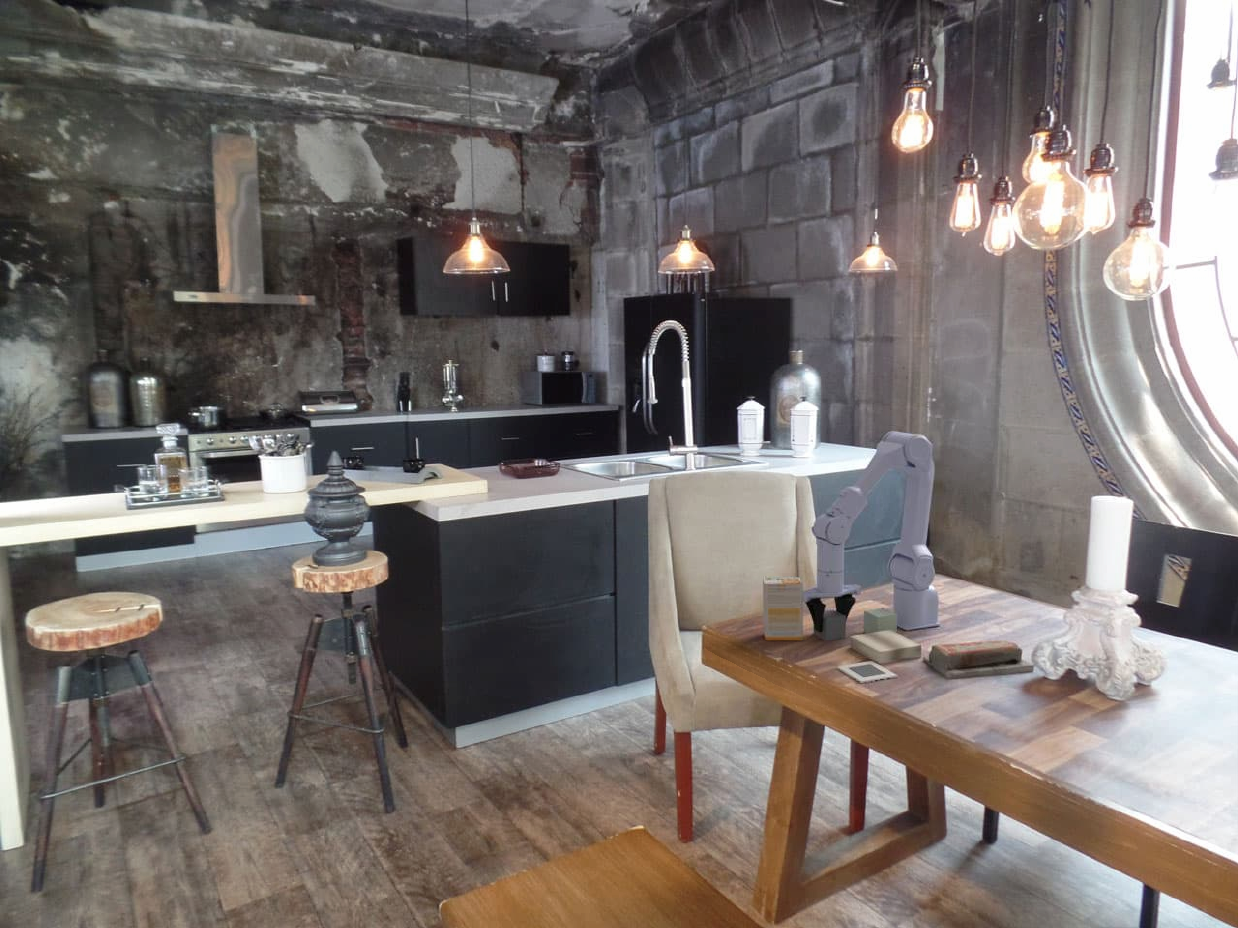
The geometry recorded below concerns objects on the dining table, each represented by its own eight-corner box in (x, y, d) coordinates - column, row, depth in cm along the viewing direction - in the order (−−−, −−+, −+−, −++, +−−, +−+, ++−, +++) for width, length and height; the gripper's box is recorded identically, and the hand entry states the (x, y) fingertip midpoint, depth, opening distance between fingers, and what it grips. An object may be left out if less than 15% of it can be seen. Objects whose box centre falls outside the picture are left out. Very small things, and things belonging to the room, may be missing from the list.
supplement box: (800, 633, 186) (800, 576, 184) (802, 641, 182) (803, 582, 180) (762, 633, 187) (762, 576, 185) (764, 640, 182) (764, 582, 181)
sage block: (882, 629, 188) (883, 607, 188) (896, 636, 184) (897, 614, 183) (863, 631, 187) (864, 610, 186) (877, 639, 182) (877, 616, 181)
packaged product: (950, 657, 159) (922, 639, 168) (949, 681, 159) (922, 662, 169) (1035, 649, 162) (1004, 632, 171) (1035, 673, 162) (1003, 655, 172)
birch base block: (890, 643, 180) (890, 629, 180) (920, 659, 171) (921, 645, 170) (850, 649, 177) (850, 636, 177) (879, 666, 168) (879, 651, 167)
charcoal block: (833, 630, 188) (833, 609, 187) (845, 637, 183) (846, 615, 182) (813, 633, 186) (813, 611, 185) (825, 640, 181) (826, 618, 181)
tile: (871, 662, 168) (872, 660, 168) (896, 677, 161) (897, 674, 161) (837, 668, 166) (837, 665, 166) (861, 683, 158) (861, 680, 158)
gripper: (848, 561, 189) (847, 619, 190) (791, 568, 184) (791, 627, 186) (866, 569, 182) (865, 629, 184) (808, 576, 177) (808, 638, 179)
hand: (829, 629), depth 184 cm, fingers closed on charcoal block, 5 cm apart
